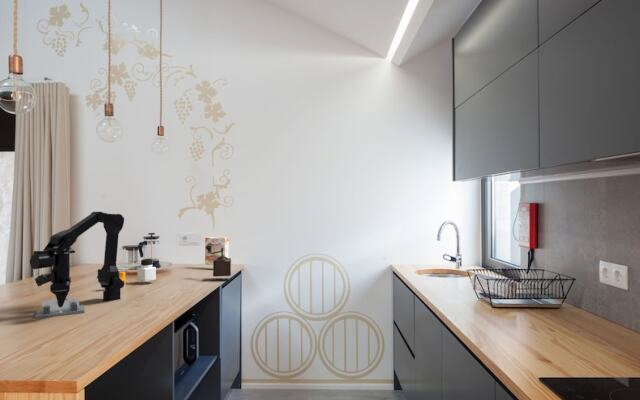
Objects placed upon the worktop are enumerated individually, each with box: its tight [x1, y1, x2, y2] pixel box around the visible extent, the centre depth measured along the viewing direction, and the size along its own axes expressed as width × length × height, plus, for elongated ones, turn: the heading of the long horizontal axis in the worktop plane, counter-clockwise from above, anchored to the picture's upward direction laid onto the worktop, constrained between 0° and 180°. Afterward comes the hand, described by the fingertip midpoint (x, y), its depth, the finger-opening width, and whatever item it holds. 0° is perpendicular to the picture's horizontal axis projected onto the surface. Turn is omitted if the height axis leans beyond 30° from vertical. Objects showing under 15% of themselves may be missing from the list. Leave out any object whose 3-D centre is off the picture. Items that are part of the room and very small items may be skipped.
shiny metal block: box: [41, 296, 80, 312], centre depth 157 cm, size 12×4×4 cm, turn 127°
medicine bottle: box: [137, 258, 157, 283], centre depth 224 cm, size 7×7×12 cm
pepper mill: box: [206, 245, 232, 278], centre depth 240 cm, size 16×11×18 cm
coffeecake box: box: [204, 236, 230, 266], centre depth 280 cm, size 15×7×20 cm, turn 81°
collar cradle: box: [34, 304, 85, 320], centre depth 157 cm, size 16×10×4 cm, turn 121°
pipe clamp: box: [119, 271, 126, 284], centre depth 208 cm, size 12×4×6 cm, turn 174°
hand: (61, 304), depth 157 cm, fingers open, 9 cm apart
